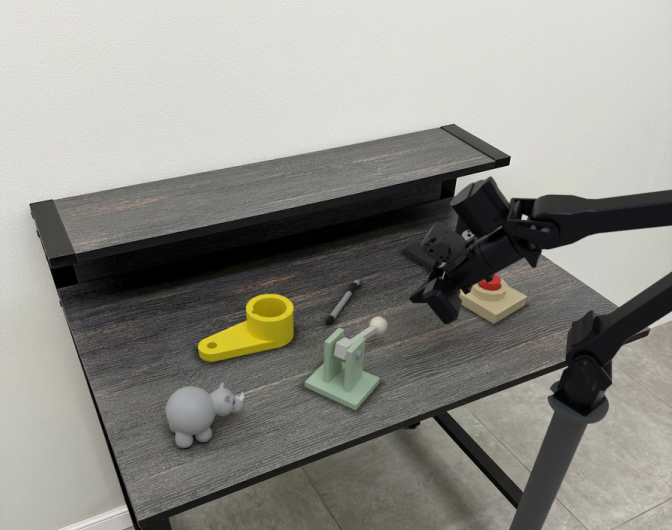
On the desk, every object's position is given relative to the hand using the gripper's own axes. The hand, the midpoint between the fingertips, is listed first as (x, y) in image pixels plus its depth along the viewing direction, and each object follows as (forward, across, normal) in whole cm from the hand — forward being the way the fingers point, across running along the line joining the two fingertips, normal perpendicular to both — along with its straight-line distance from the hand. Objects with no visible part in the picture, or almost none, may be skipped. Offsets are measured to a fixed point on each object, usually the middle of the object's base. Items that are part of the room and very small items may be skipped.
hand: (411, 299), depth 104 cm
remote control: (+10, -32, +8) cm, 35 cm away
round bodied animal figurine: (+26, +28, -8) cm, 39 cm away
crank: (+28, +7, -11) cm, 31 cm away
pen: (+19, -11, -2) cm, 22 cm away
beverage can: (+6, -44, +12) cm, 46 cm away
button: (-2, -23, +14) cm, 27 cm away
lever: (+9, +6, 0) cm, 11 cm away
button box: (+1, -23, +17) cm, 28 cm away
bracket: (+14, +11, +3) cm, 18 cm away
